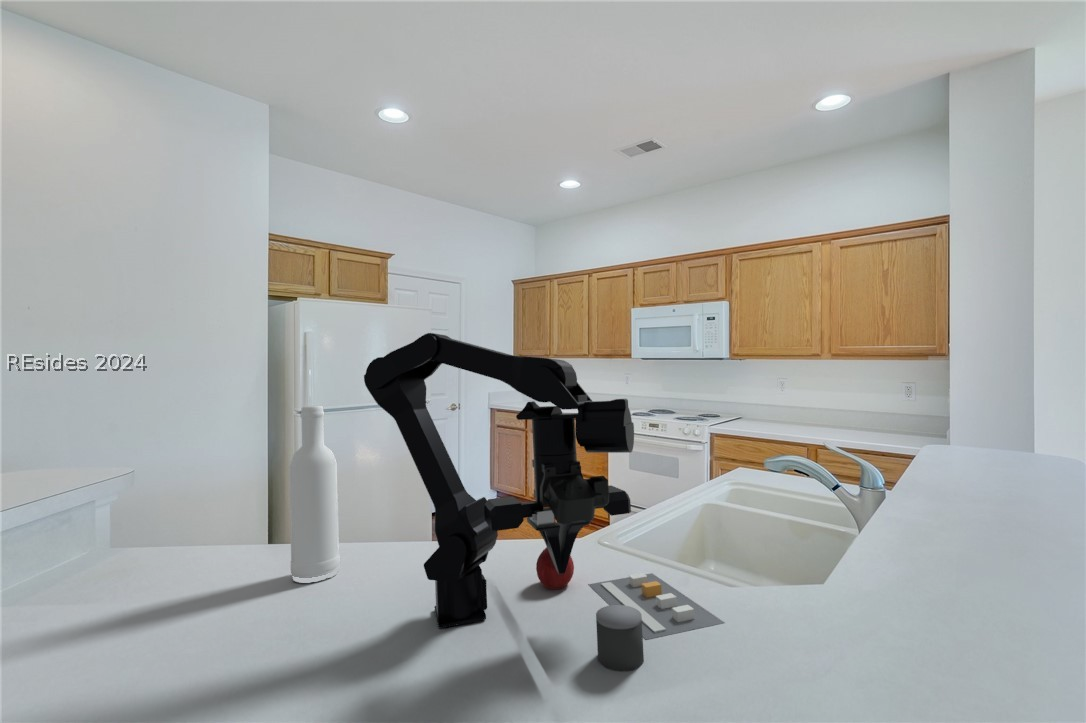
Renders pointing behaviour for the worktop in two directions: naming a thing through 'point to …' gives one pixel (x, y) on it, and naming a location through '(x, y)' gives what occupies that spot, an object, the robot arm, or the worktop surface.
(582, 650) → the worktop surface
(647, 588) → the block
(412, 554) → the worktop surface
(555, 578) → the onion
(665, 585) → the panel
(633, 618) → the canister
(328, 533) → the bottle
